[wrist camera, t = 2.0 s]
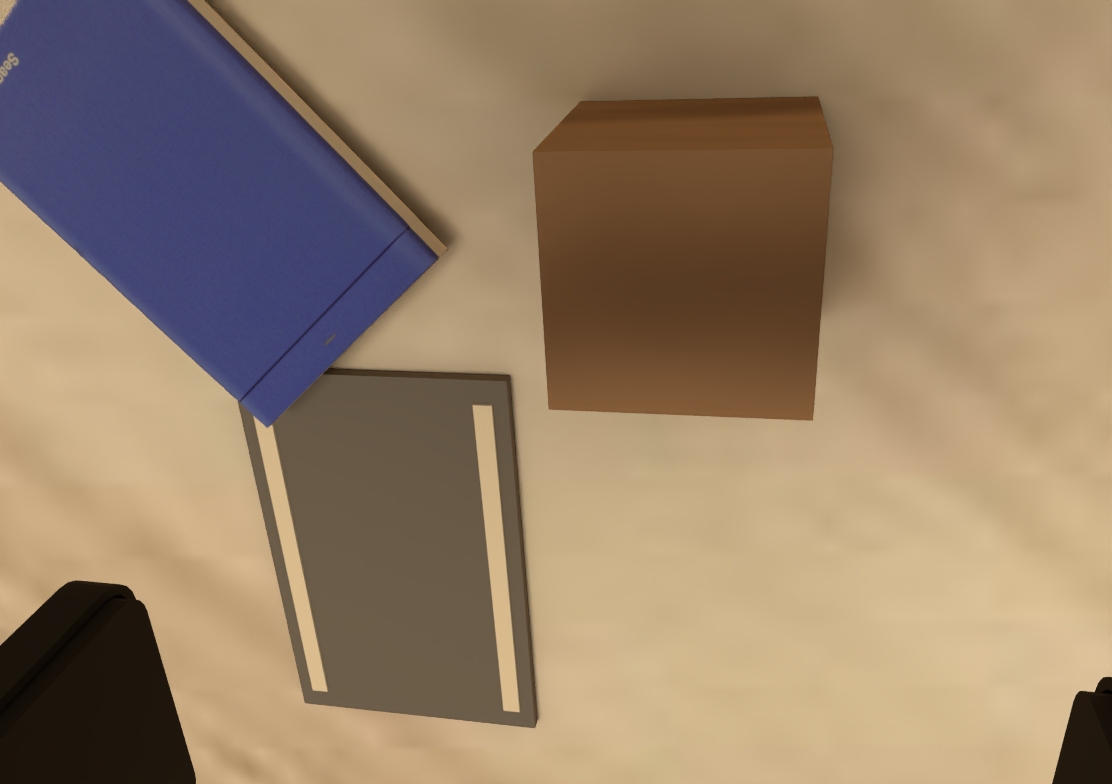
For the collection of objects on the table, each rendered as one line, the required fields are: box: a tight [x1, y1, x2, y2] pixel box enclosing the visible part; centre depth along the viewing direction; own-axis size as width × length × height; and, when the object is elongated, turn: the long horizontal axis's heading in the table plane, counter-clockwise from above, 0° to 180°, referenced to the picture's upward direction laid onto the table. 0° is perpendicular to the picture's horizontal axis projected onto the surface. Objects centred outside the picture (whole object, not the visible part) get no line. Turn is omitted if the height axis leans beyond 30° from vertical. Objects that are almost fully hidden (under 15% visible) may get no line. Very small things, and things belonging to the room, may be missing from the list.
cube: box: [533, 97, 833, 421], centre depth 23 cm, size 6×6×6 cm
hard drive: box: [0, 0, 448, 428], centre depth 27 cm, size 2×8×12 cm
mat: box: [238, 369, 537, 728], centre depth 33 cm, size 14×9×1 cm, turn 2°
